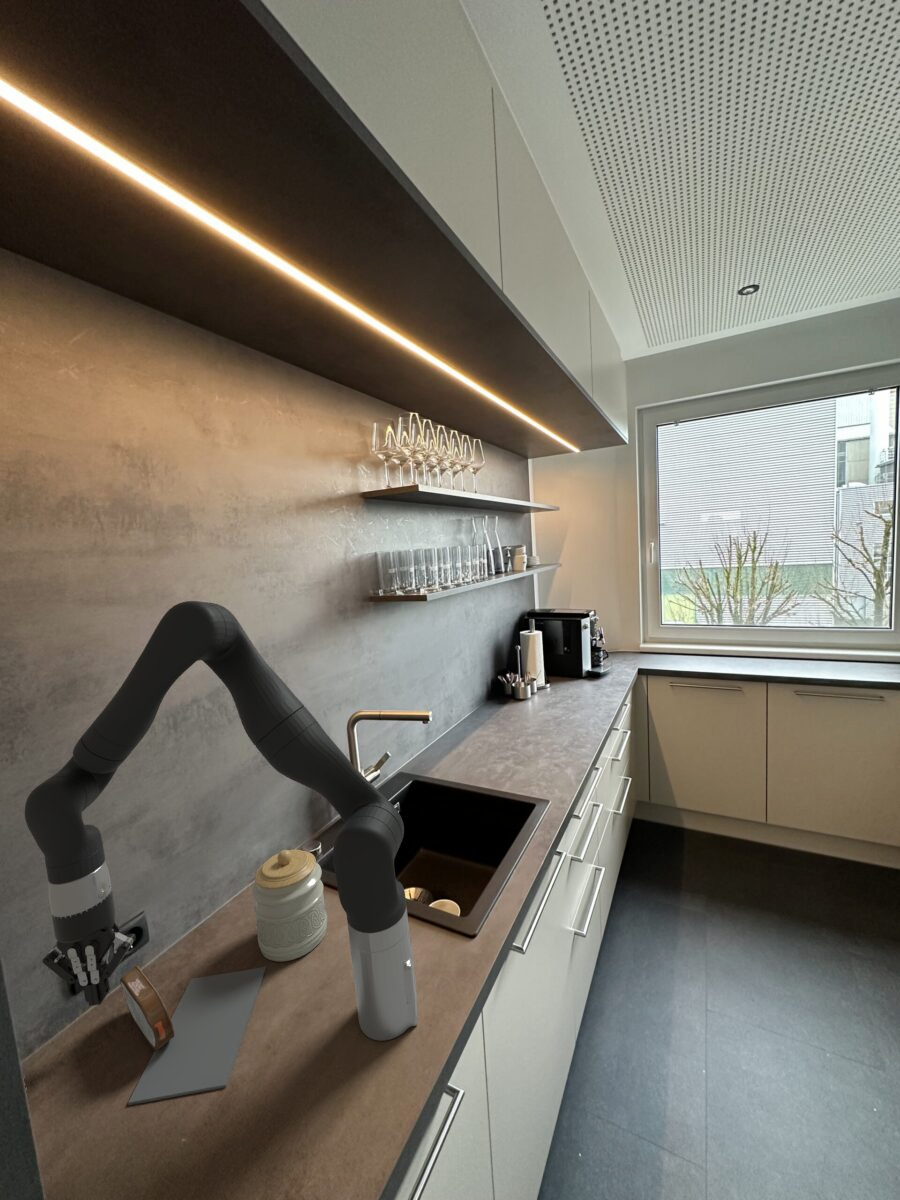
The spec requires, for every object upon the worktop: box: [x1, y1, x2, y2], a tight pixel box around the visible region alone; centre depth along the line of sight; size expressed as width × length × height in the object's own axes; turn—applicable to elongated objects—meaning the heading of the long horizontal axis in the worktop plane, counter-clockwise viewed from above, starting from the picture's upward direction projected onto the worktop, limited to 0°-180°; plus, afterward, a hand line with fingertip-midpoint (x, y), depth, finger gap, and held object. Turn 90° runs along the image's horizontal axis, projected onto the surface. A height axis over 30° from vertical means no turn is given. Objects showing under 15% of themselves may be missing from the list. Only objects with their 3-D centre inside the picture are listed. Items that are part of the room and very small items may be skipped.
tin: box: [119, 965, 174, 1051], centre depth 77 cm, size 15×3×8 cm, turn 50°
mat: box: [127, 966, 267, 1106], centre depth 77 cm, size 13×20×1 cm, turn 6°
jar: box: [251, 849, 328, 962], centre depth 94 cm, size 13×13×18 cm
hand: (98, 1000), depth 76 cm, fingers closed
